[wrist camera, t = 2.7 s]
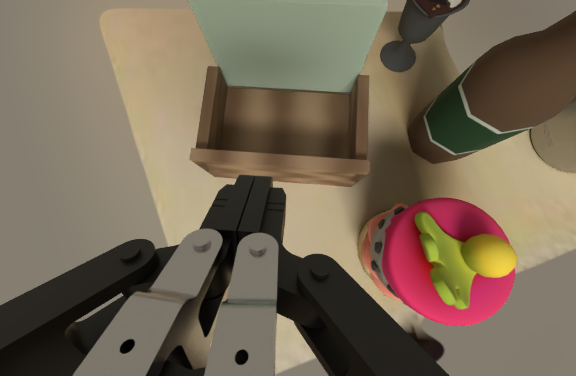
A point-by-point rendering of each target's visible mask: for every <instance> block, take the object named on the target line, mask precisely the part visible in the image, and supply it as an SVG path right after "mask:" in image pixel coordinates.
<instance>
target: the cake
mask: <svg viewBox="0 0 576 376" xmlns="http://www.w3.org/2000/svg"><path fill="white" fill-rule="evenodd" d="M357 245H358V257H359V260H360V262H361V265H362V267H363V269H364V271H365V272H366V273H367V274H368V276H369V277H370V278H371V279H372V280H373V281H374V283H375V285H376V286H377V287H378V288H379V290H380V291H381V292H382V293H383V294H384V295H385V296H388V297H390V298H393V299H395V300H397V301H403V303H404V304H405V305H407V306H409V307H410V308H412V309H413V310H414V311H416V312H417V313H419V314H421V315H423V316H424V317H426V318H428V319H430V320H433V321H435V322H438V323H442V324H445V325H452V326H465V325H472V324H475V323H479V322H481V321H483V320H486V319H487V318H489V317H490V316H492V315H494V314H495V313H496V312H497V311H498V310H499V309H500V308H501V307H502V306H503V304H504V303H505V302H506V300H507V299H508V297H509V295H510V292H511V290H512V287H513V283H514V278H515V267H516V263H517V255H516V253H515V251H514V249H513V248H512V246H511V245H510V243H509V241H508V238H507V237H506V235H505V233H504V232H503V230H502V229H501V227H500V226H499V225H498V224H497V223H496V221H495V220H494V219H493V218H491V217H490V216H489V215H488V214H487V213H486V212H484V211H483V210H481V209H480V208H478V207H477V206H475V205H473V204H470V203H468V202H465V201H462V200H458V199H454V198H434V199H427V200H423V201H419V202H417V203H415V204H413V205H411V206H407V205H405V204H402V203H398V204H396V205H395V206H393V207H392V209H391V210H388V211H385V212H382V213H379V214H377V215H375V216H374V217H372V218H371V219H370V220H369V221H368V222H366V224H365V226H364V227H363V229H362V230H361V232H360V236H359V240H358V244H357Z"/></svg>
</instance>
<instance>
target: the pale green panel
mask: <svg viewBox="0 0 576 376" xmlns="http://www.w3.org/2000/svg"><path fill="white" fill-rule="evenodd" d="M188 1H189V4H190V6H191V8H192V11H193V13H194V15H195V17H196V19H197V22H198V24H199V26H200V28H201V30H202V32H203V35H204V37H205V39H206V41H207V43H208V46H209V48H210V50H211V52H212V54H213V57H214V59H215V61H216V63H217V65H218V67H219V69H220V71H221V74H222V76H223V78H224V80H225V82H226V85H231V86H247V87H264V88H280V89H297V90H313V91H330V92H347V93H351V91H352V89H353V86H354V84H355V81H356V79H357V77H358V75H359V74H360V72H361V69H362V67H363V65H364V62H365V60H366V58H367V55H368V53H369V51H370V48H371V46H372V43H373V41H374V39H375V36H376V34H377V32H378V29H379V27H380V25H381V22H382V20H383V18H384V15H385V13H386V10H387V8H388V0H188Z"/></svg>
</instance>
